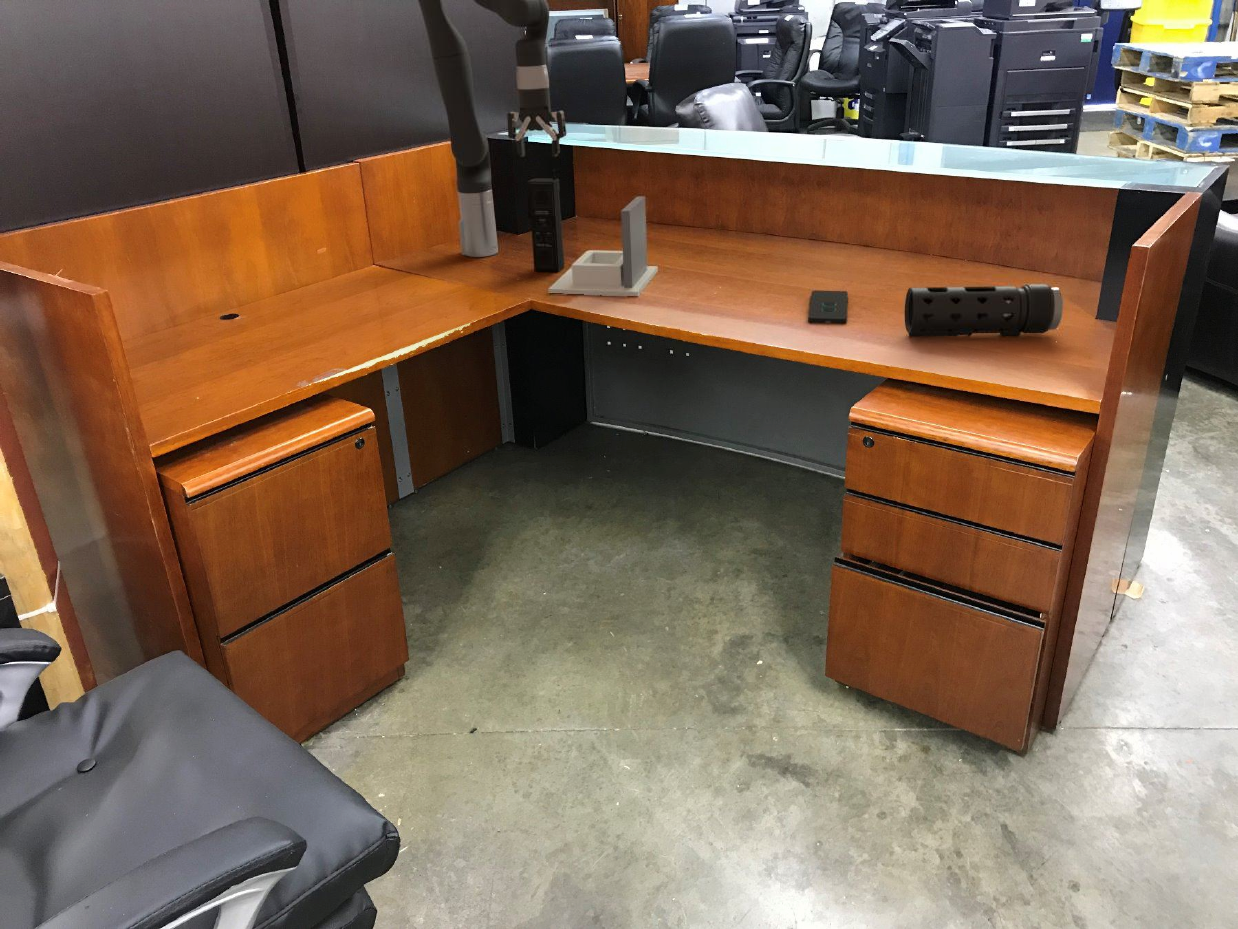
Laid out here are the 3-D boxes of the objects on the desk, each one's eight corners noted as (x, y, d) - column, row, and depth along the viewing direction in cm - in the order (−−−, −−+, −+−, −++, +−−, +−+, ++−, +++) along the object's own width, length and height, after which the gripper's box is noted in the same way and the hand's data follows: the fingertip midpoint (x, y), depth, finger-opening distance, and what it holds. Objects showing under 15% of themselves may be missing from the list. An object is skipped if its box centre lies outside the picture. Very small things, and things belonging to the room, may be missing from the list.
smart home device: (807, 317, 202) (811, 289, 219) (806, 325, 203) (810, 296, 220) (847, 318, 200) (848, 290, 217) (847, 326, 201) (847, 297, 218)
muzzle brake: (902, 329, 197) (906, 280, 192) (1043, 327, 194) (1052, 277, 189) (910, 345, 188) (915, 294, 184) (1058, 344, 185) (1067, 292, 181)
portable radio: (529, 271, 248) (521, 172, 236) (538, 265, 253) (530, 167, 241) (558, 272, 245) (550, 172, 234) (566, 266, 250) (559, 168, 239)
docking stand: (548, 293, 229) (542, 212, 221) (574, 268, 248) (569, 193, 239) (637, 296, 224) (635, 213, 215) (657, 270, 243) (655, 193, 234)
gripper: (499, 88, 227) (506, 158, 235) (556, 86, 224) (562, 158, 231) (510, 84, 234) (516, 153, 241) (566, 83, 230) (570, 153, 238)
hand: (538, 156), depth 236 cm, fingers open, 8 cm apart
